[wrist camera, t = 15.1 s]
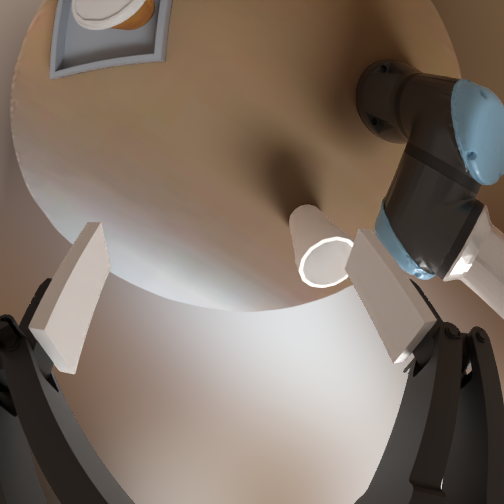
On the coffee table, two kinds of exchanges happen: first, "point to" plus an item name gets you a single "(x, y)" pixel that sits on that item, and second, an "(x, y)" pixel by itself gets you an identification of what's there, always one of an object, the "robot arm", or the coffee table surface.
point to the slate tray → (106, 42)
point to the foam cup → (319, 247)
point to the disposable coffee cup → (112, 13)
